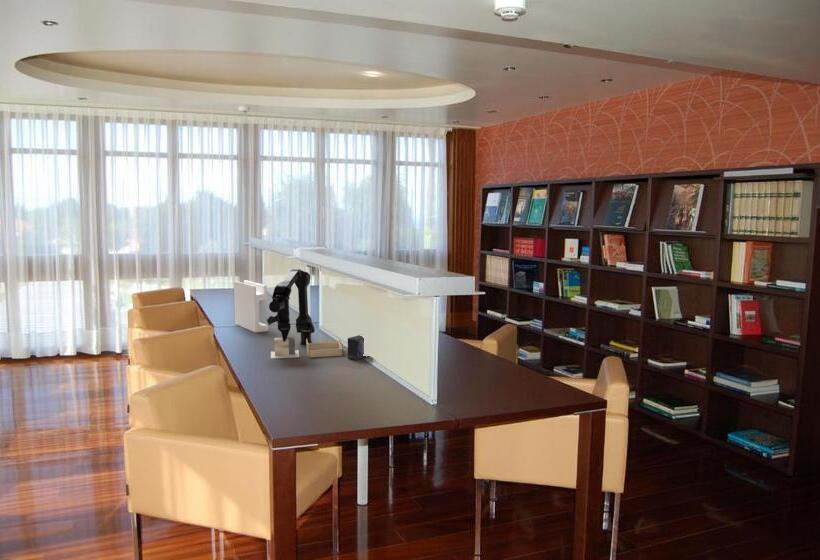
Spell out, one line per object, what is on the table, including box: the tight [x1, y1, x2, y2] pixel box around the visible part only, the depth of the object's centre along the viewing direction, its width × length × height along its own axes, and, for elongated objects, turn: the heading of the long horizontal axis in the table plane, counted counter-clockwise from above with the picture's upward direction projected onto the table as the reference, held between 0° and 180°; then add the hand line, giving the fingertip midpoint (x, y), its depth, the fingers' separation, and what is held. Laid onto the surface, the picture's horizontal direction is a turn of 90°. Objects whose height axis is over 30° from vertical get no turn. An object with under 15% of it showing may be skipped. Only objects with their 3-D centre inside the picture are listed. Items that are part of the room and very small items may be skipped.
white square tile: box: [270, 349, 300, 360], centre depth 323 cm, size 14×14×1 cm
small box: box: [347, 334, 367, 361], centre depth 316 cm, size 11×6×10 cm, turn 143°
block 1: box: [233, 279, 269, 334], centre depth 396 cm, size 35×8×28 cm, turn 35°
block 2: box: [273, 336, 296, 356], centre depth 323 cm, size 5×10×8 cm, turn 102°
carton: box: [305, 337, 344, 358], centre depth 327 cm, size 17×17×6 cm
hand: (284, 339), depth 322 cm, fingers open, 9 cm apart
